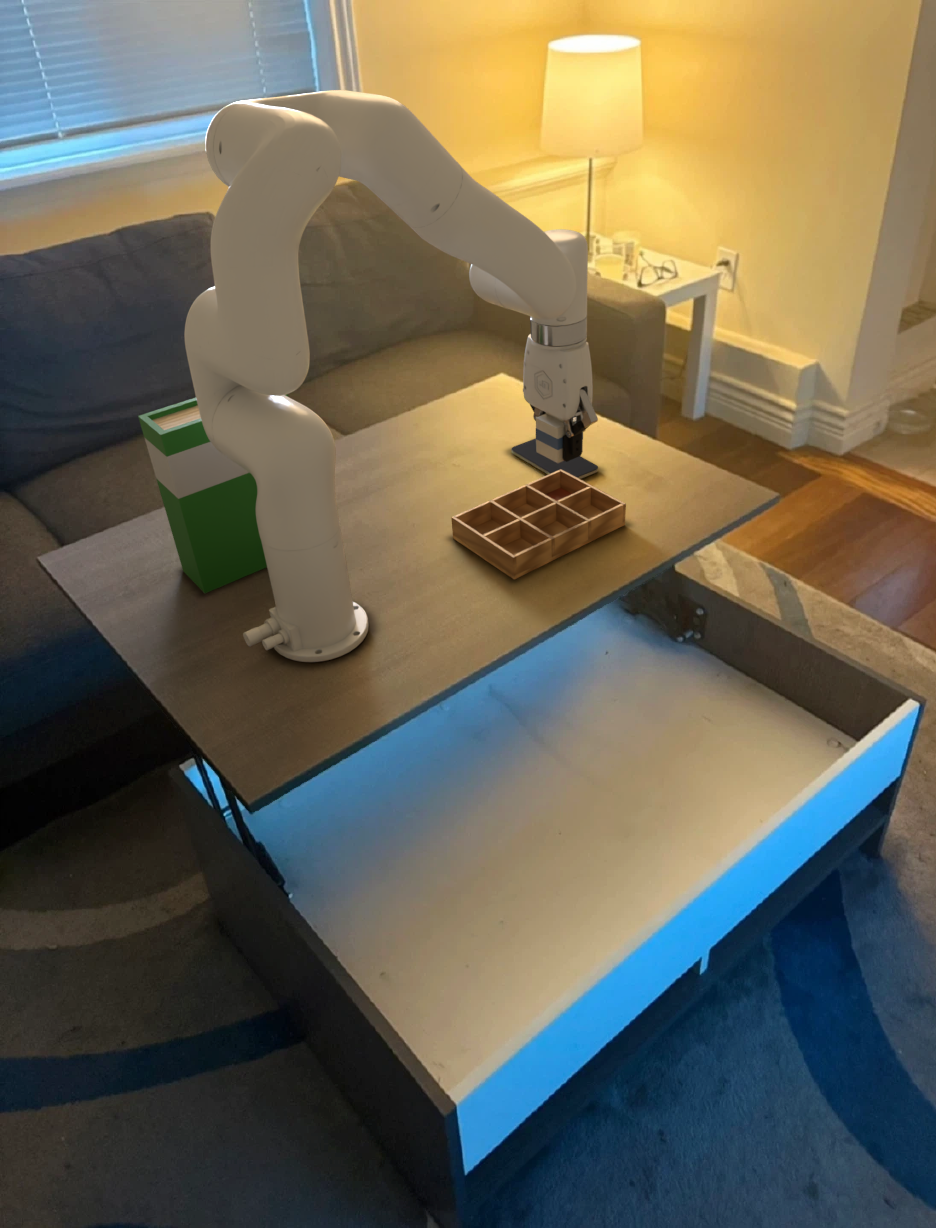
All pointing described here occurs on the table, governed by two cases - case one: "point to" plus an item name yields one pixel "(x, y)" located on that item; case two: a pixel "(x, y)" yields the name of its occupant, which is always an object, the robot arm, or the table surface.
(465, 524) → the compartment tray
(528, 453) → the smartphone
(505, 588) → the table surface
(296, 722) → the table surface
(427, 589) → the table surface
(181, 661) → the table surface
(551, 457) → the milk carton
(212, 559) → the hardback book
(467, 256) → the robot arm
